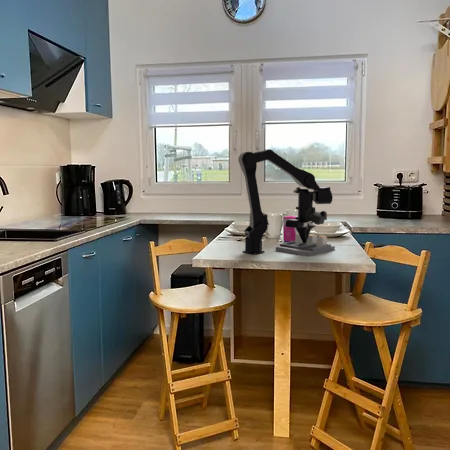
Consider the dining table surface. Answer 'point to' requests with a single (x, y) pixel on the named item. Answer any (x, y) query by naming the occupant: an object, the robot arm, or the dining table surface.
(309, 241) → the switch tab
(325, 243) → the switch tab
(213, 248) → the dining table surface
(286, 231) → the supplement box
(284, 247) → the switch bank
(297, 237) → the switch tab
